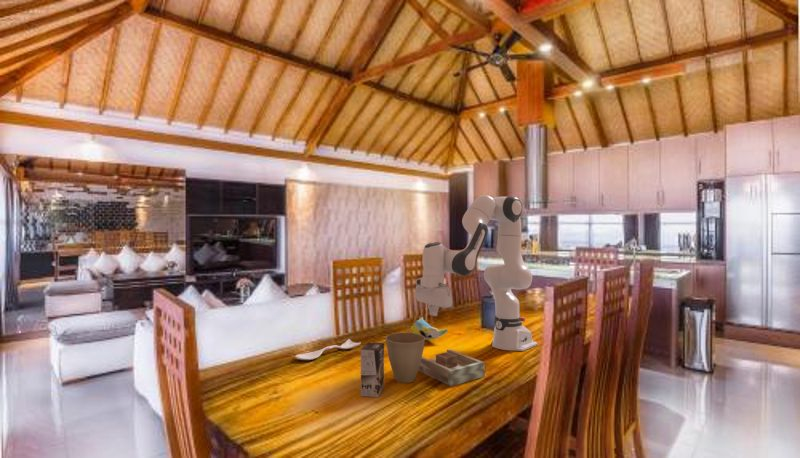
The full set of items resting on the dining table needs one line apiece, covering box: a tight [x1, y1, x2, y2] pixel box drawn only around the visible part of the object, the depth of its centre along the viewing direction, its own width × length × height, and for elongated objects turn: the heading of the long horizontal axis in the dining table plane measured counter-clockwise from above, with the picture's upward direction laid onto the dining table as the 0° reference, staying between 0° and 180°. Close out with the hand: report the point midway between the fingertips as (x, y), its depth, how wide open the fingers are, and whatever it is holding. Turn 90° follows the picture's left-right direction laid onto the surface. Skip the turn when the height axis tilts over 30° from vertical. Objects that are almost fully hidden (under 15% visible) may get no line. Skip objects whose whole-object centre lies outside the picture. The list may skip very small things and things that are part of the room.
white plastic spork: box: [294, 338, 361, 361], centre depth 189 cm, size 9×32×4 cm, turn 135°
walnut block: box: [435, 351, 457, 368], centre depth 165 cm, size 6×6×4 cm
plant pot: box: [385, 332, 426, 384], centre depth 157 cm, size 15×15×16 cm
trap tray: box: [418, 348, 486, 387], centre depth 163 cm, size 17×22×6 cm
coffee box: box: [360, 342, 385, 398], centre depth 145 cm, size 9×6×16 cm
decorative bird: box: [406, 316, 448, 341], centre depth 216 cm, size 14×30×9 cm, turn 20°
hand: (433, 315), depth 171 cm, fingers closed
